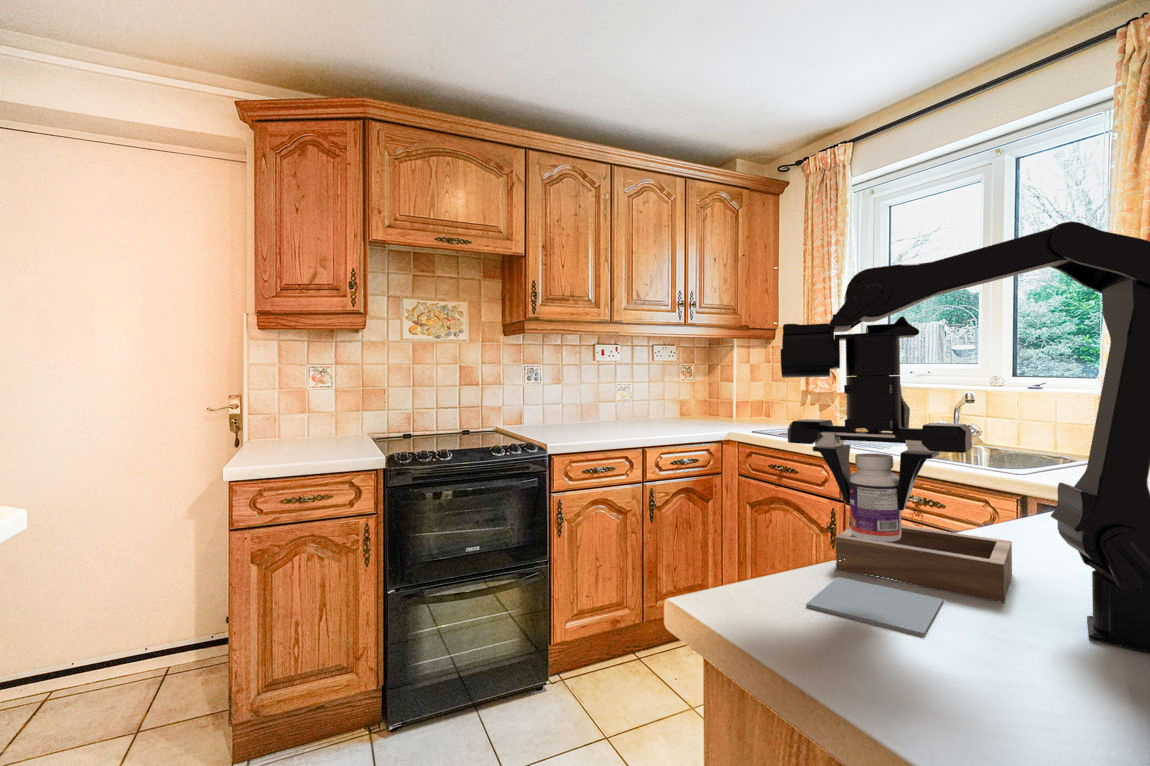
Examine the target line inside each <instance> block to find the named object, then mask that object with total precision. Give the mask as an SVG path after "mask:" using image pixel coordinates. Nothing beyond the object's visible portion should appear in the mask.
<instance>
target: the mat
mask: <svg viewBox="0 0 1150 766" xmlns="http://www.w3.org/2000/svg"><path fill="white" fill-rule="evenodd" d="M943 604H944V598H939V597H935V596H930V595H925V594H921V593H917V592H911V591H907V590H901V589H898V588H892V587H889V586H888V587H886V586H884V585H879V584H873V583H867V582H863V581H859V580H854V579H850V578H844V577H839V576H837V577H836V578H835V579H833V580H832V581H831V582H830V583H828V584H827V585H826V586H824V588H823V589H822V590H821V591H819V592H818V593H817V594H816V595H815V596H814V597H812V598H811V599H810V600H809V601H808V602H807V603H806V604H805V606H806V607H805V608H809V609H813V610H816V611H820V612H825V613H828V614H831V615H832V614H833V615H836V616H840V617H843V618H848V619H852V620H857V621H860V622H865V623H868V624H870V625H876V626H879V627H883V628H888V629H891V630H895V631H900V632H903V633H907V634H910V635H915V636H919V637H921V638H922V637H923V638H926V635H927V633H928V631H929V629H930V628H931V626H932V624H933V622H934V621H935V619H936V616H937V615H938V613H939V611H940V609H941V608H942V605H943Z"/></svg>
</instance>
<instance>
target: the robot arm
mask: <svg viewBox="0 0 1150 766" xmlns="http://www.w3.org/2000/svg"><path fill="white" fill-rule="evenodd" d="M1045 268H1053V269H1055V270H1057V271H1059V272H1061V273H1062V274H1063V275H1066V276H1067V277H1068V278H1070V279H1071V280H1073V281H1075V282H1076V283H1077V284H1079V285H1081V286H1083V287H1085V288H1087V289H1090V290H1092V291H1095V292H1096V293H1097V292H1098V293H1099V294H1101V295H1102V296H1101V298H1102V301H1101V302H1102V303H1101V304H1102V316H1103V319H1104V322H1105V326H1106V329H1107V332H1108V334H1109V338H1110V345H1109V350H1108V354H1107V355H1108V356H1107V361H1106V366H1105V373H1104V377H1103V380H1102V382H1103V383H1102V386H1101V393H1100V397H1099V402H1098V409H1097V412H1096V413H1097V414H1096V418H1095V423H1094V429H1093V435H1092V439H1091V444H1090V450H1089V455H1088V461H1087V465H1086V469H1085V471H1084V473H1083V474H1082V476H1081V477H1080V478H1079V479H1078V481H1076V484H1074V485H1070V484H1069V483H1068V484H1067V483H1065V482H1059V483H1058V485H1057V502H1056V503H1057V504H1056V507H1055V508H1054V510H1053V512H1051V514H1050V517H1051V518H1052V519H1053V520H1055V521H1057V531H1058V534H1059V535H1060V537H1061V538H1062V539H1063V541H1065V542H1066V544H1067V545H1069V546H1070V547H1072V548H1073V549H1075V550H1077V552H1078V554H1079V556H1080V558H1081V560H1082V563H1084V564H1085V565H1086V566H1089V567H1091V568H1093V570H1092V572H1091V583H1092V585H1091V587H1092V589H1091V590H1092V592H1091V593H1092V595H1091V596H1092V598H1091V599H1092V615H1087V616H1086V624H1087V633H1088V634H1087V635H1088V638H1089V639H1090V640H1092V641H1095V642H1100V643H1105V644H1109V645H1113V646H1114V645H1115V646H1119V647H1124V648H1128V649H1132V650H1137V651H1141V652H1144V653H1145V652H1147V653H1150V489H1149V484H1148V483H1149V482H1148V479H1149V475H1150V240H1147V239H1144V238H1140V237H1134V236H1130V235H1124V234H1119V233H1113V232H1109V231H1104V230H1101V229H1099V228H1095V227H1092V226H1091V225H1087V224H1085V223H1082V222H1079V221H1078V222H1077V221H1067V222H1061V223H1058V224H1057V225H1055V226H1053V227H1051V228H1049V229H1048V228H1047V229H1044V230H1041V231H1038V232H1033V233H1030V234H1027V235H1023V236H1020V237H1016V238H1013V239H1009V240H1005V241H1002V242H998V243H994V244H991V245H987V246H983V247H981V248H977V249H973V250H970V251H967V252H962V253H959V254H956V255H951V256H948V257H945V258H940V259H937V260H934V261H929V262H921V263H900V264H899V263H898V264H893V265H886V266H885V265H884V266H877V267H870V268H865V269H863V270H861V271H859V272H857V273H856V274H855V275H853V277H852V278H851V280H850V281H849V282H848V284H847V287H846V290H845V294H844V298H843V301H844V303H843V304H842V306H841V307H840V308H839V309H838V310H837V312H836V313H833V314H832V317H831V320H830V321H829V322H828V323H807V324H798V323H784V324H783V325H782V340H781V341H782V343H781V345H782V346H781V347H782V348H780V367H781V368H780V369H781V370H780V371H781V377H782V379H783V378H785V379H786V378H789V379H790V378H831V370H835V369H837V370H838V369H840V368H841V350H840V349H841V348H840V347H841V346H840V341H845V382H846V383H845V384H844V385H843V392H844V394H845V395H846V419H844V425H834V423H833V421H832V419H814V418H813V419H812V418H811V419H809V418H808V419H807V418H806V419H799V420H792V421H791V422H790V424H789V425H788V428H787V443H789V444H800V445H813V444H814V446H812V452H818V453H820V455H821V456H822V458H823V459H824V461H825V463H826V464H827V466H828V468H829V470H830V471H831V473H832V475H833V477H834V480H835V482H836V484H837V487H838V488H839V490H840V493H841V495H842V497H843V499H844V502H845V503H846V504H847V505H850V476H851V474H852V473H851V464H850V454H851V453H850V452H851V444H845V443H844V442H845V441H855V442H870V443H871V442H873V443H890V444H892V443H893V444H905V447H906V448H907V450H905V451H904V450H903V451H902V452H900V457H899V476H898V477H899V490H898V502H899V510H901V511H904V510H905V509H906V507H907V505H908V502H909V498H910V496H911V493H912V491H913V488H914V486H915V485H914V484H916V483H915V482H916V479H917V478H918V475H919V473H920V472H921V469H922V468H923V465H925V463H926V461H927V460H932V459H933V458H936V457H937V456H939V455H940V452H941V453H956V454H957V453H962V454H963V453H966V454H967V452H969V451H970V450H971V449H972V448H973V447H972V446H973V444H972V443H973V439H972V438H973V436H972V428H970V427H969V426H968V425H967V424H966V423H949V422H948V423H945V422H944V423H943V422H929V423H925V424H922V428H916V427H915V428H911V427H910V414H911V413H910V411H911V409H910V407H909V406H908V404H907V403H906V401H905V400H904V397H903V394H902V384H901V363H900V362H901V358H900V357H901V356H900V355H901V354H900V352H901V350H900V349H901V348H900V347H901V346H900V339H903V338H904V339H905V338H906V339H907V338H909V339H910V338H914V337H916V336H918V335H919V334H920V330H919V328H917V327H915V326H914V325H912V324H910V323H909V322H908V320H907V319H906V318H905V316H900V317H899V318H897V319H896V321H895V322H894V323H884V324H867V325H866V326H865V332H862V333H846V332H849V331H850V330H852V329H853V328H855V327H856V326H858V325H859V324H861V323H875V322H877V321H881V320H883V319H886V318H887V317H890V316H893V315H895V314H897V313H899V312H902V311H904V310H906V309H908V308H909V309H910V308H911V307H913V306H915V305H917V304H920V303H922V302H924V301H926V300H929V299H931V298H933V297H937V296H941V295H944V294H948V293H952V292H955V291H959V290H963V289H967V288H971V287H975V286H978V285H984V284H987V283H991V282H994V281H995V282H996V281H999V280H1002V279H1006V278H1010V277H1013V276H1017V275H1022V274H1026V273H1029V272H1033V271H1036V270H1038V271H1039V270H1042V269H1045ZM844 332H845V333H844ZM835 333H840V334H835ZM841 333H844V334H841ZM858 429H861V431H860V430H859V431H858ZM862 429H863V430H866V431H862Z"/></svg>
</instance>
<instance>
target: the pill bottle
mask: <svg viewBox="0 0 1150 766" xmlns="http://www.w3.org/2000/svg"><path fill="white" fill-rule="evenodd" d="M854 461H855V467H856V468H857V471H854V472H852V473H851V476H850V504H849V511H850V512H849V513H850V514H849V515H850V517H849V521H850V522H849V523H850V526H849V527H851V533H852V534H853V535H854V536H856V537H858V538H861V539H865V540H871V541H880V542H892V541H897V540H899V539H900V538H901V525H902V510H899V502H898V490H899V476H898V475H897V474H895V473H893V472H892V469H893V468H894V456H893V455H892V454H886V453H885V454H884V453H856V454H855V459H854Z"/></svg>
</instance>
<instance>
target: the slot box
mask: <svg viewBox="0 0 1150 766" xmlns="http://www.w3.org/2000/svg"><path fill="white" fill-rule="evenodd" d="M1012 543H1013V542H1012V540H1007V539H998V538H993V537H987V536H977V535H973V534H972V535H971V534H964V533H957V532H951V531H943V530H938V529H937V530H936V529H929V528H928V529H927V528H922V527H914V526H907V525H902V524H901V538H900V539H899V540H897V541H892V542H880V541H871V540H865V539H861V538H858V537H856V536H854V535H853V534H852V533H851V526H849V527H847V528H846V529H845V530H843V531H842V532H841V533H839V534H838V535H836V536H835V565H836V566H835V569H836V570H839V571H844V572H849V573H855V574H859V573H860V575H864V574H867V575H866V576H869V575H873V576H879V577H884V578H889V579H893V580H897V581H896V582H898V581H901V582H900V583H903V582H905V584H908V583H909V585H913V586H919V587H924V588H928V589H934V590H939V591H943V592H948V593H953V594H957V595H962V596H967V597H973V598H979V599H981V600H982V599H983V600H989V601H993V602H999V603H1006V598H1007V594H1008V590H1009V587H1010V584H1011V580H1012V576H1013V551H1012V550H1013V549H1012V547H1013V546H1012ZM844 559H845V560H844ZM839 560H841V561H839ZM836 561H837V562H836ZM873 576H872V577H873ZM893 580H892V581H893Z"/></svg>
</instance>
